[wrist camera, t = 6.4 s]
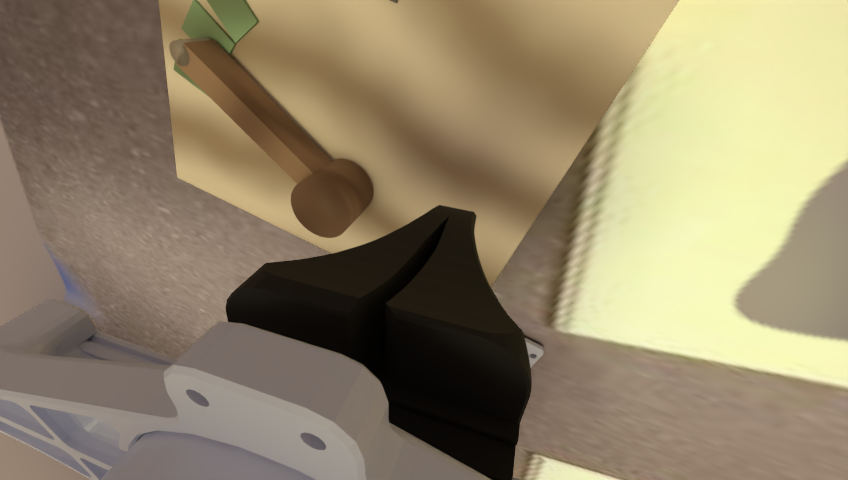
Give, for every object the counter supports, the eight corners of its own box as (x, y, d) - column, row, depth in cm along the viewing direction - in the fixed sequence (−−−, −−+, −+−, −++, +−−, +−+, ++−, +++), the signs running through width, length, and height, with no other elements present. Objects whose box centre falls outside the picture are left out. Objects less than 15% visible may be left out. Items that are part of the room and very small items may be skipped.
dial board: (472, 309, 27) (468, 322, 26) (190, 171, 28) (175, 178, 27) (705, -54, 14) (719, -59, 13) (154, -285, 15) (121, -308, 14)
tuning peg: (384, 192, 22) (361, 216, 20) (350, 221, 24) (326, 248, 22) (214, 13, 19) (162, 15, 17) (193, 64, 21) (143, 72, 19)
